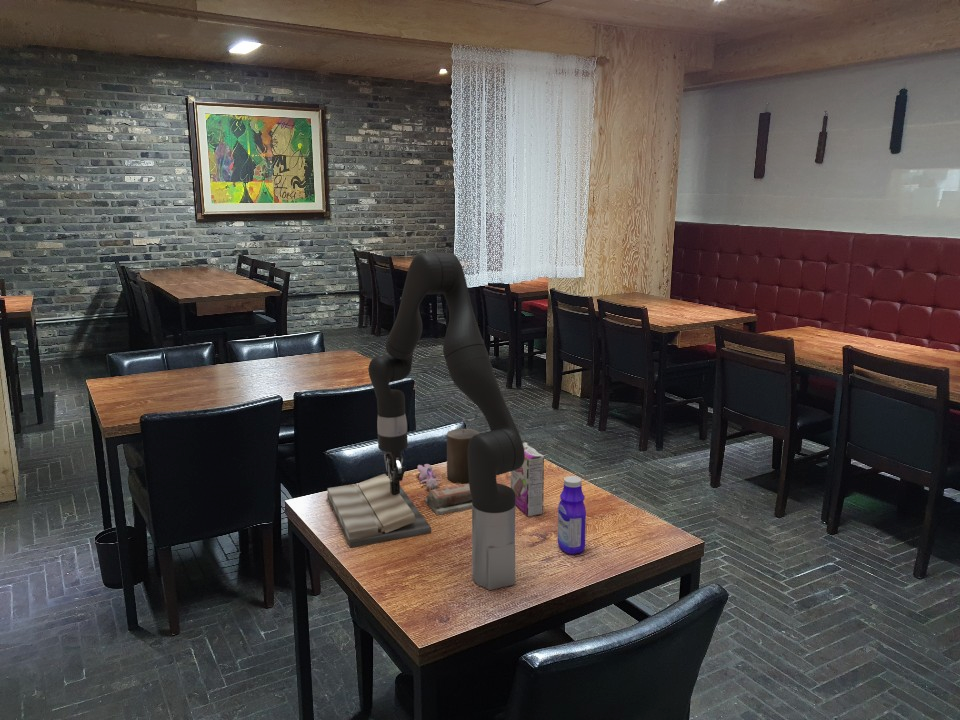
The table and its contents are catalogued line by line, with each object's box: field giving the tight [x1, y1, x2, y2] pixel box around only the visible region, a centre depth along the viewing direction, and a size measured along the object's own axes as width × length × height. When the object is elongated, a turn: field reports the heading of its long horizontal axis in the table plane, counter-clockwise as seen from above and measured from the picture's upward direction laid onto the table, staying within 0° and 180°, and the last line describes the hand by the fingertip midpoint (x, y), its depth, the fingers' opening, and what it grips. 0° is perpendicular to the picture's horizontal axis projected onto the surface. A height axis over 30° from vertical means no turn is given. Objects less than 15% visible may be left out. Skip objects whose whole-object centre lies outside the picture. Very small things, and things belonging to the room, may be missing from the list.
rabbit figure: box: [417, 463, 442, 492], centre depth 201 cm, size 6×6×15 cm
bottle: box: [557, 475, 587, 555], centre depth 162 cm, size 7×6×17 cm
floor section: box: [326, 483, 432, 549], centre depth 181 cm, size 30×20×4 cm, turn 22°
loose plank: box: [357, 473, 416, 533], centre depth 181 cm, size 28×9×2 cm, turn 22°
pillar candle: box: [446, 428, 480, 484], centre depth 204 cm, size 10×10×15 cm
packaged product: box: [424, 483, 472, 516], centre depth 188 cm, size 18×5×10 cm
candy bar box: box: [510, 442, 545, 518], centre depth 184 cm, size 11×5×16 cm, turn 22°
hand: (395, 493), depth 182 cm, fingers closed
